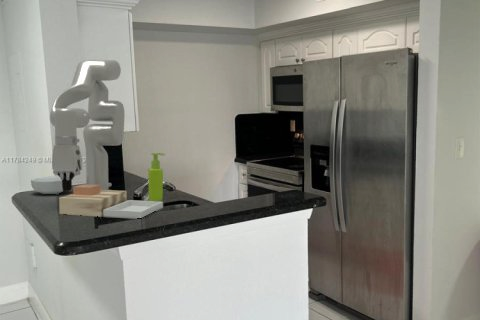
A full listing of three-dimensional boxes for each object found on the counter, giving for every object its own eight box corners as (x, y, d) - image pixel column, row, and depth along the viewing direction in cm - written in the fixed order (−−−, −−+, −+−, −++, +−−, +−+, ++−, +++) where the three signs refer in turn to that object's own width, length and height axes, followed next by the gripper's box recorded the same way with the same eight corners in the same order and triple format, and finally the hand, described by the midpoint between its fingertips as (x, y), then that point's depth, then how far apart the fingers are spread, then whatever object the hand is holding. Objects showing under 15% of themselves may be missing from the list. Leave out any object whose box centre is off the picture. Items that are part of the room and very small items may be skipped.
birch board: (89, 204, 179) (89, 189, 178) (126, 206, 175) (126, 191, 175) (59, 214, 159) (59, 197, 159) (100, 216, 156) (100, 199, 155)
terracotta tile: (83, 191, 172) (83, 184, 171) (100, 192, 170) (100, 184, 170) (73, 194, 165) (73, 186, 164) (90, 195, 163) (90, 187, 163)
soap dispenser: (162, 201, 186) (161, 153, 185) (146, 200, 188) (146, 153, 186) (167, 199, 192) (167, 152, 190) (151, 198, 193) (151, 152, 192)
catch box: (129, 206, 175) (129, 200, 175) (162, 208, 172) (162, 201, 172) (103, 216, 156) (103, 209, 156) (141, 219, 153) (141, 211, 153)
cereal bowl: (36, 191, 210) (35, 176, 209) (73, 190, 213) (73, 175, 213) (27, 197, 193) (26, 181, 193) (67, 196, 197) (67, 180, 196)
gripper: (89, 141, 170) (90, 189, 171) (54, 140, 173) (55, 188, 174) (78, 142, 162) (79, 192, 164) (41, 141, 165) (43, 190, 167)
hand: (67, 190), depth 169 cm, fingers closed
